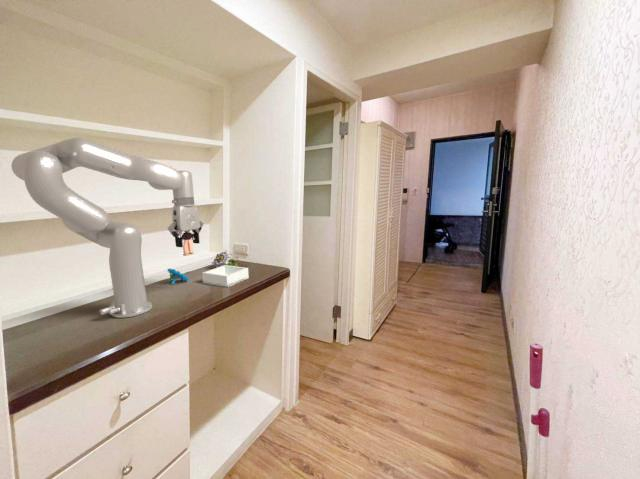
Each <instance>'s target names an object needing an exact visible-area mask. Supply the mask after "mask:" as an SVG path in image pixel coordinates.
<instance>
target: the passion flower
mask: <svg viewBox="0 0 640 479" xmlns="http://www.w3.org/2000/svg"><path fill="white" fill-rule="evenodd" d="M232 255H233V253H228V249H225V250H224V251H222V252H220V253H217V254H216V255H215V257H214V259H213V261H212V262H211V264H212V265H215V266H216V267H215V268H217V267H220V266H223V265H229V266H236V267H238V263H237V262H236V261H235V259H237V261H238V262H239V261H240V259H239V258H238V256H237V257H234V258H233V259H232V258H231V256H232Z"/></svg>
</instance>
